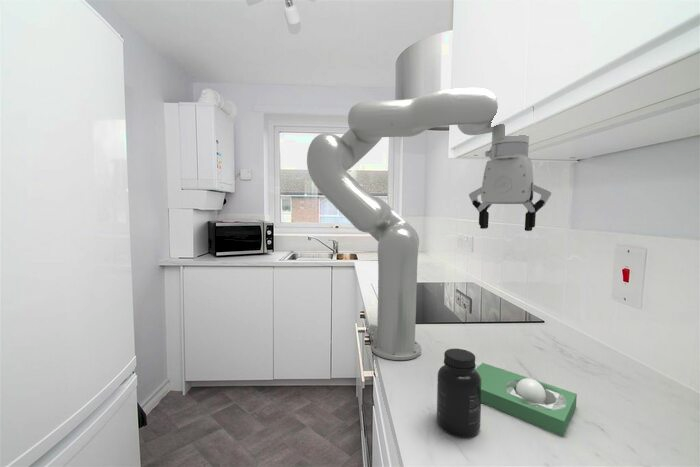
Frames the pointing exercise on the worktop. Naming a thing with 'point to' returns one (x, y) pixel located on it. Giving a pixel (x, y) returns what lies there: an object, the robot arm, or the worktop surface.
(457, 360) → the supplement bottle
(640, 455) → the worktop surface
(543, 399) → the ball
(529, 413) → the green flat slab
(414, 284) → the robot arm
